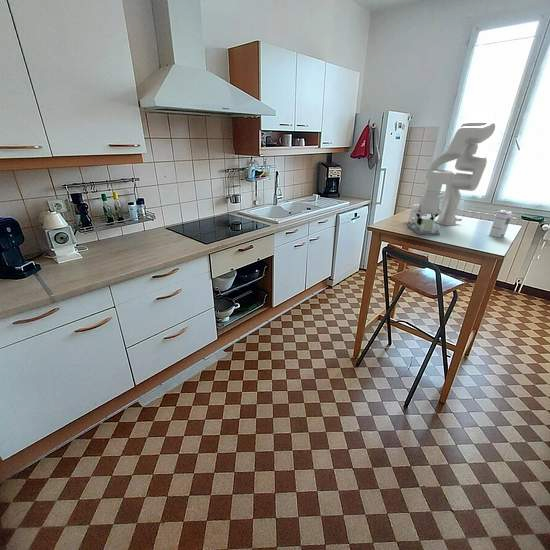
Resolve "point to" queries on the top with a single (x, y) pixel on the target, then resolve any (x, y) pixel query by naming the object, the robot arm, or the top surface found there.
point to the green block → (426, 223)
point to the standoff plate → (420, 231)
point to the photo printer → (414, 213)
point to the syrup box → (500, 223)
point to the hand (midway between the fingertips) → (424, 224)
